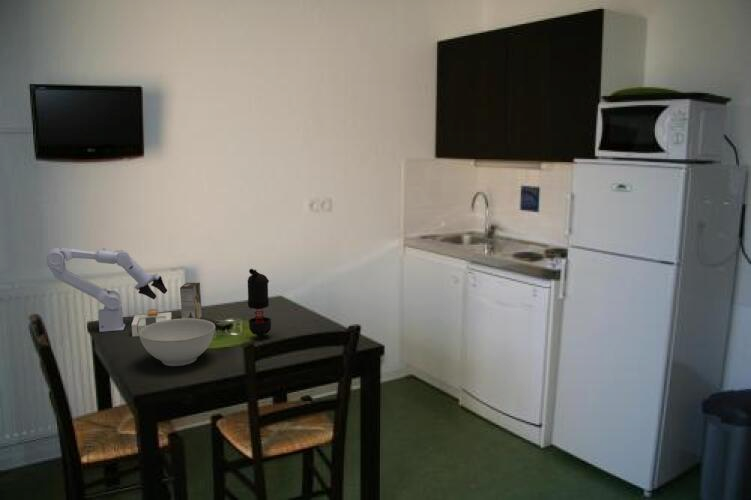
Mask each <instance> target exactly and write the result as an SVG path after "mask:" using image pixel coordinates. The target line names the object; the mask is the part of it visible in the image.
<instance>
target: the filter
mask: <svg viewBox="0 0 751 500" xmlns="http://www.w3.org/2000/svg"><path fill="white" fill-rule="evenodd" d="M248 272H249V274H250V276H248V277H247V278H248V279H247V306H248V308H250V309H254V310H255V311H254V314H255V316H254V317H252V318H250V319H249V320H248V327H249V330H250V333H252V334H253V335H256V337H257V338H258V339H263V338H264V337H265V336H264V335H266V334H267V333H269V332H270V330H271V329H272V319H271V318H270V317H266V316H264V315H263V314H264V313H265V311H263V309H266V308H268V307H269V306H270V304H269V302H270V301H269V299H270V298H269V282H270V280H269V279H268V277H267V276H266V275H264V274H262V273H260V272H258V271H257V269H253V268H249V270H248ZM257 310H258V311H257ZM260 310H261V311H260Z"/></svg>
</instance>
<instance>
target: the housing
mask: <svg viewBox="0 0 751 500" xmlns="http://www.w3.org/2000/svg"><path fill="white" fill-rule="evenodd" d="M146 317H156V318H165V320H171V319H172V311H169V312H158V313H156V316H150V315H149V314H147V313H142V314H135V315H134V317H133V320H132V322H131V334H132V335H131V336H132V337H139V333H138V324H139V321H140V319H145V318H146Z"/></svg>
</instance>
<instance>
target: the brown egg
mask: <svg viewBox="0 0 751 500" xmlns="http://www.w3.org/2000/svg"><path fill="white" fill-rule="evenodd" d="M156 313H159V309H158V308H157V309H156V308H152V309H148V310H146V314H149V315H150V316H156Z"/></svg>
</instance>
